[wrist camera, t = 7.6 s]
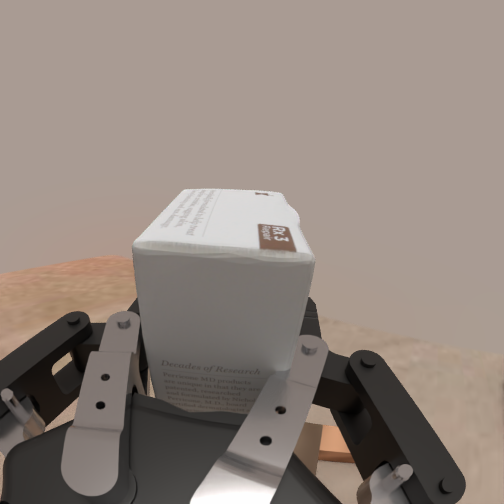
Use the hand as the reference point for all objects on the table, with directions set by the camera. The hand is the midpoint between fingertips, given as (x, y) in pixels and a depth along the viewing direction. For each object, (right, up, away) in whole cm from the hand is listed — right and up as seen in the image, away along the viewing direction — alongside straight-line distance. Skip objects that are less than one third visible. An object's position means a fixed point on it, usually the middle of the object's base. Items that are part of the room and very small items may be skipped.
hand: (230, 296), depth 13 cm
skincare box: (-1, -8, 0) cm, 8 cm away
